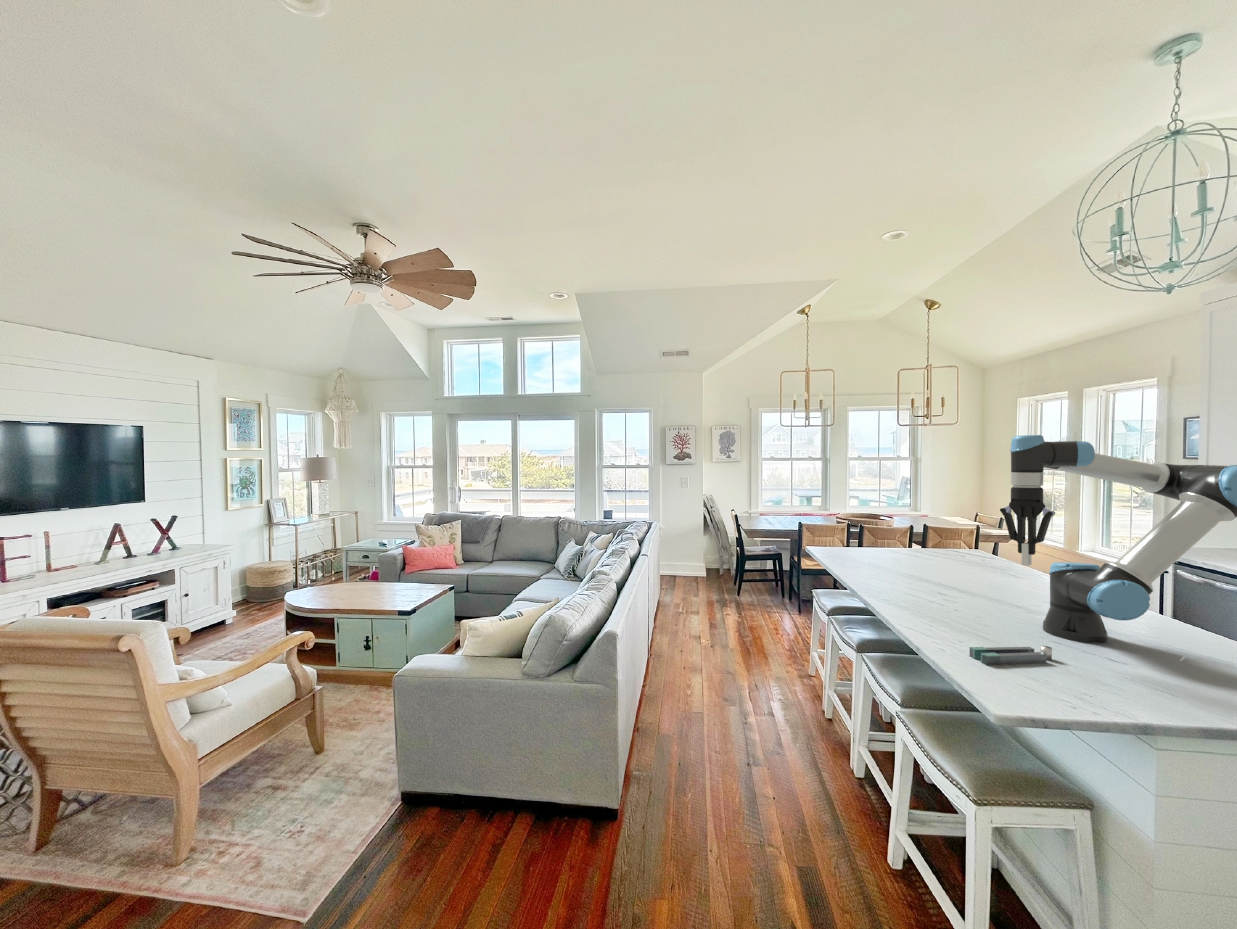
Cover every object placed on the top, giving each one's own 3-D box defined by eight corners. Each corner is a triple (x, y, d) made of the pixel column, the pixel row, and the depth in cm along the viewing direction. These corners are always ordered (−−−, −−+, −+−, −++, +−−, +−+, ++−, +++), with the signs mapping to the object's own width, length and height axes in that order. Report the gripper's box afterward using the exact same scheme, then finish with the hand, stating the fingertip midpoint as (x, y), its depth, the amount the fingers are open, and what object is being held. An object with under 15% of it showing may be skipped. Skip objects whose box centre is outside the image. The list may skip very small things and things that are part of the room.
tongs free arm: (1040, 660, 136) (1040, 650, 136) (1046, 662, 134) (1046, 653, 134) (981, 662, 134) (981, 653, 134) (986, 665, 132) (986, 655, 132)
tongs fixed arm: (1042, 654, 139) (1042, 643, 139) (1054, 660, 135) (1054, 649, 135) (969, 656, 139) (969, 645, 139) (979, 661, 135) (979, 650, 135)
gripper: (1059, 487, 142) (1059, 567, 142) (1006, 485, 153) (1005, 559, 153) (1049, 488, 138) (1049, 570, 138) (995, 486, 149) (995, 562, 149)
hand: (1026, 564), depth 146 cm, fingers closed
